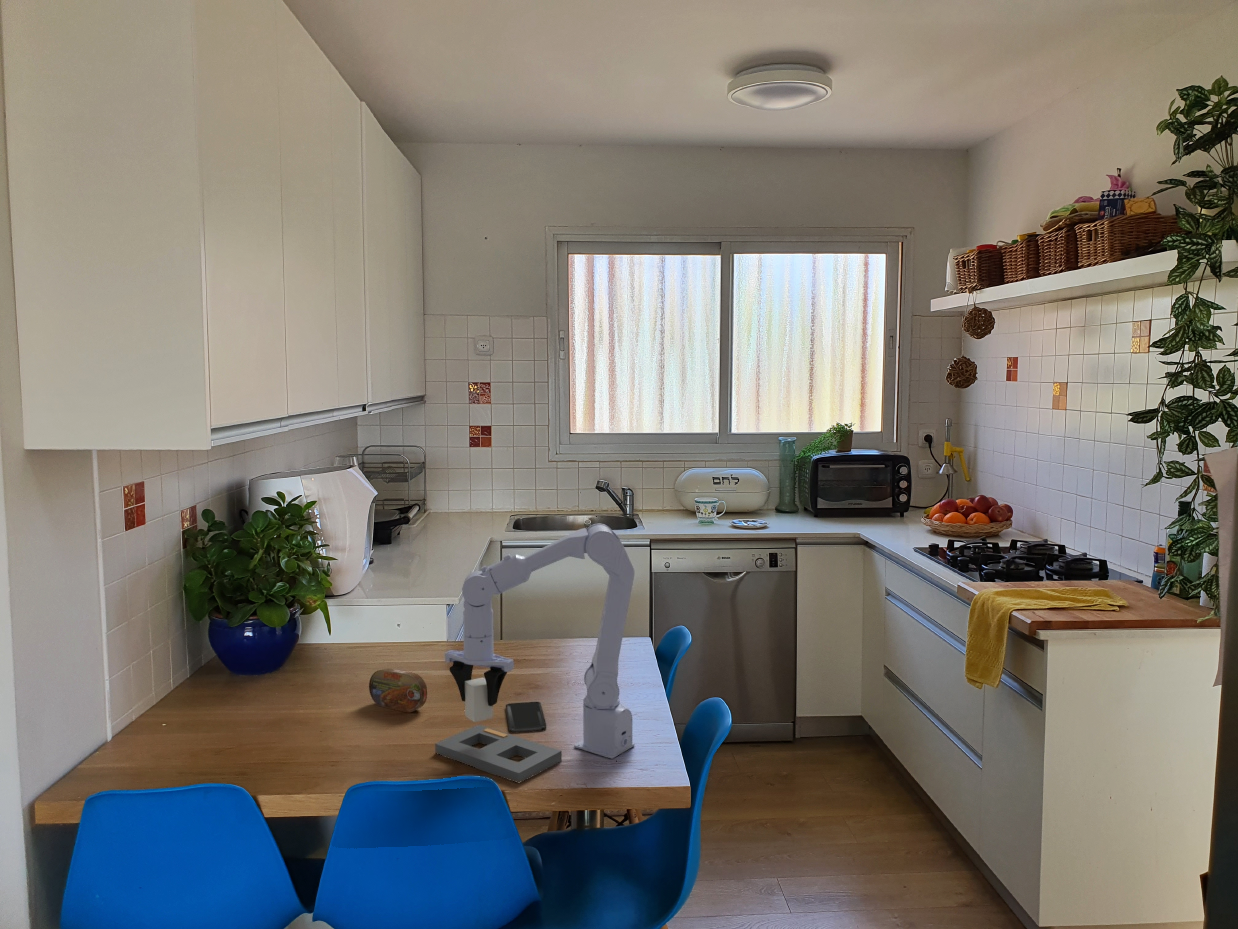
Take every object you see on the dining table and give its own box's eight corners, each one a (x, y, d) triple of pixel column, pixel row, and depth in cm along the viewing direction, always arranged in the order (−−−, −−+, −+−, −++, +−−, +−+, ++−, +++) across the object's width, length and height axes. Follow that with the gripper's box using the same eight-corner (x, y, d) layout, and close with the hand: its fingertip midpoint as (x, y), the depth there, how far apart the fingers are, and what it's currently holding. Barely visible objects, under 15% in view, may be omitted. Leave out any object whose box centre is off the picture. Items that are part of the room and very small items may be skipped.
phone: (509, 729, 183) (505, 703, 198) (509, 735, 183) (505, 708, 198) (547, 727, 184) (540, 701, 199) (547, 732, 184) (540, 706, 199)
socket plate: (561, 760, 170) (561, 749, 169) (519, 783, 160) (518, 772, 160) (479, 733, 182) (479, 723, 182) (435, 753, 173) (435, 742, 173)
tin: (368, 704, 199) (367, 667, 198) (378, 699, 202) (377, 663, 201) (420, 716, 192) (419, 678, 191) (430, 711, 195) (429, 674, 194)
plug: (493, 717, 173) (492, 682, 172) (474, 722, 170) (473, 687, 170) (483, 711, 176) (483, 677, 175) (465, 716, 174) (464, 681, 173)
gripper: (521, 633, 172) (522, 700, 174) (458, 624, 178) (459, 690, 180) (502, 642, 166) (503, 713, 167) (438, 633, 172) (439, 701, 173)
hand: (479, 702), depth 173 cm, fingers closed on plug, 5 cm apart
